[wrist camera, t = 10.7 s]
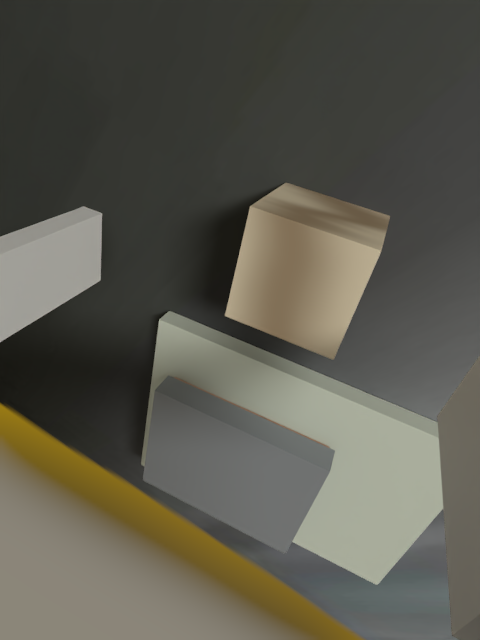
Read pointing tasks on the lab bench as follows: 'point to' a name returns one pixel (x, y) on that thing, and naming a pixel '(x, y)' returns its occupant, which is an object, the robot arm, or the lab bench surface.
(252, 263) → the block
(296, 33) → the lab bench surface
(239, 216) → the lab bench surface
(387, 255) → the lab bench surface
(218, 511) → the tile
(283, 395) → the board
